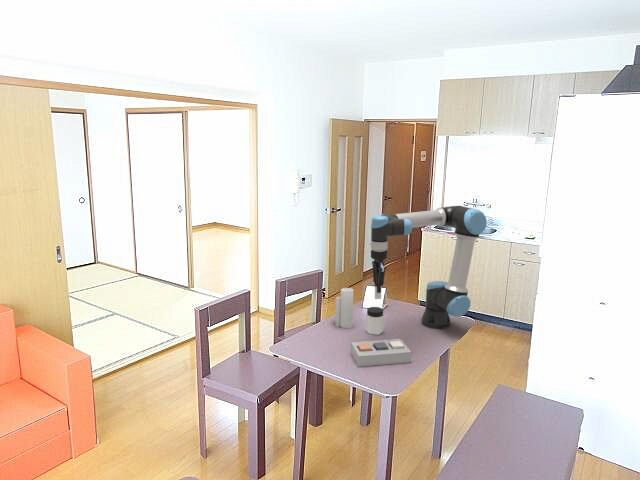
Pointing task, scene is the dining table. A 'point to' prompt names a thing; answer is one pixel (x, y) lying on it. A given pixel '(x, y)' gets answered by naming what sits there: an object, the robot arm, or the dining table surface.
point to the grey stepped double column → (344, 308)
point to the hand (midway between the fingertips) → (377, 298)
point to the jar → (374, 320)
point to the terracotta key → (364, 347)
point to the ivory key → (396, 345)
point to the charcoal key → (380, 346)
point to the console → (380, 354)
